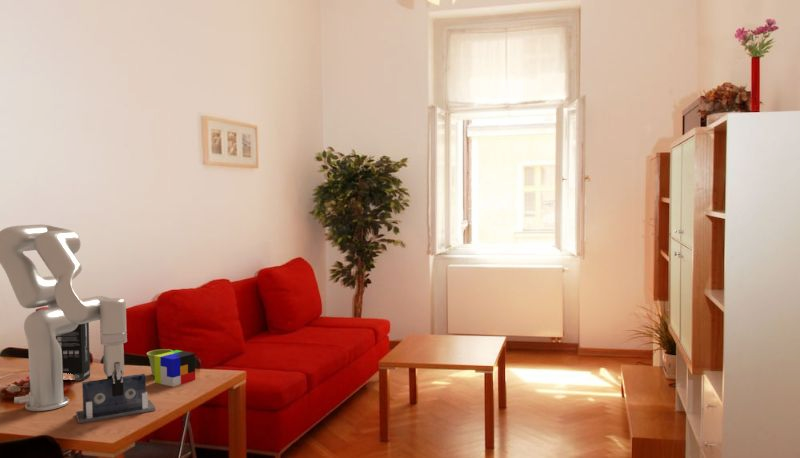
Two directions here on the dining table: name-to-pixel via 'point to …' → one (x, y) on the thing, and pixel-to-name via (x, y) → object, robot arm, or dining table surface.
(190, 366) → the puzzle toy
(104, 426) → the dining table surface
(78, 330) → the graphics card box
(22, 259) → the robot arm
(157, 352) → the plant pot
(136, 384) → the vhs cassette tape
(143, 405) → the rack
